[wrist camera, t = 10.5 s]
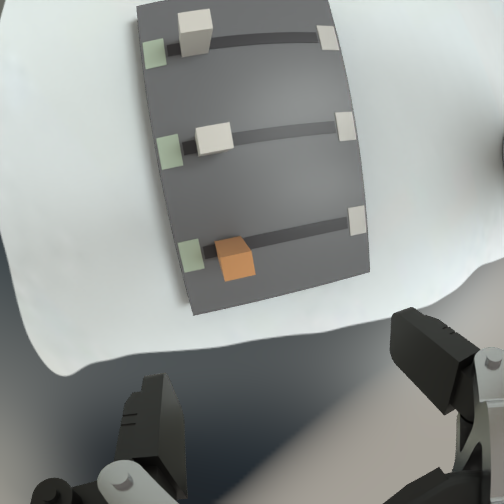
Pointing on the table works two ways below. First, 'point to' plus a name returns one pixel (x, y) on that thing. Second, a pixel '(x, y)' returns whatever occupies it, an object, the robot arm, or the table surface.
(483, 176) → the table surface
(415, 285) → the table surface
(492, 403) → the robot arm
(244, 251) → the block
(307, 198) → the panel
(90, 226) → the table surface
